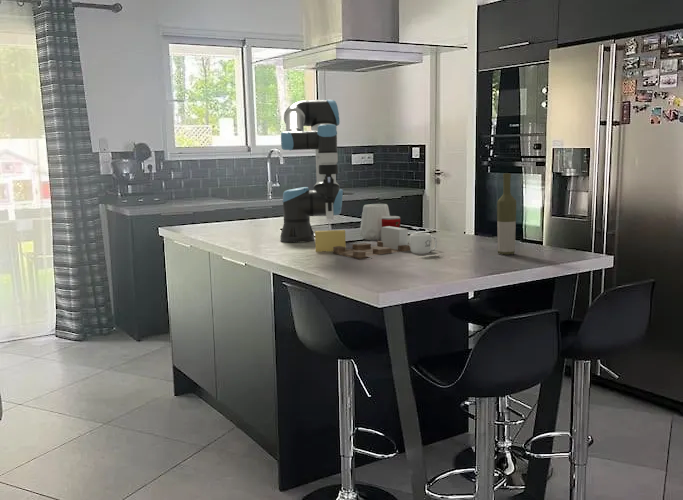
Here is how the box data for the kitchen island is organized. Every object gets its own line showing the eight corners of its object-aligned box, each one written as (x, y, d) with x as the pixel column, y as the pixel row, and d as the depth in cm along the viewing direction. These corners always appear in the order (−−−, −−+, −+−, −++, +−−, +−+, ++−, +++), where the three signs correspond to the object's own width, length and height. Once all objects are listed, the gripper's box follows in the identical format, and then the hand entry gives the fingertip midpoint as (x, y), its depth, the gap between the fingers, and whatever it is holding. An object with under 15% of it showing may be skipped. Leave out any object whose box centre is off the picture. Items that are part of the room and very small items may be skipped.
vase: (387, 241, 297) (386, 206, 295) (356, 240, 302) (355, 206, 300) (395, 236, 311) (395, 203, 308) (365, 236, 315) (364, 203, 313)
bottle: (519, 254, 255) (521, 173, 250) (505, 256, 252) (506, 174, 247) (506, 252, 261) (507, 172, 257) (492, 253, 258) (493, 173, 253)
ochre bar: (315, 252, 274) (315, 232, 273) (315, 250, 278) (315, 230, 277) (345, 251, 275) (345, 231, 273) (345, 249, 279) (344, 229, 277)
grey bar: (381, 246, 277) (381, 226, 276) (389, 245, 279) (389, 226, 278) (399, 250, 267) (399, 229, 266) (407, 249, 269) (407, 228, 268)
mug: (418, 256, 256) (417, 235, 255) (405, 254, 263) (404, 233, 262) (443, 253, 262) (443, 233, 261) (430, 250, 269) (430, 230, 268)
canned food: (399, 243, 289) (399, 217, 287) (380, 243, 291) (380, 218, 289) (401, 241, 296) (401, 215, 295) (383, 241, 298) (382, 215, 296)
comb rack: (333, 253, 269) (333, 246, 269) (383, 247, 282) (383, 240, 281) (358, 259, 254) (358, 252, 254) (410, 252, 267) (410, 245, 266)
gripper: (318, 163, 283) (320, 215, 286) (318, 165, 259) (320, 221, 262) (336, 163, 284) (338, 214, 287) (338, 164, 259) (340, 220, 262)
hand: (329, 217), depth 274 cm, fingers open, 13 cm apart
